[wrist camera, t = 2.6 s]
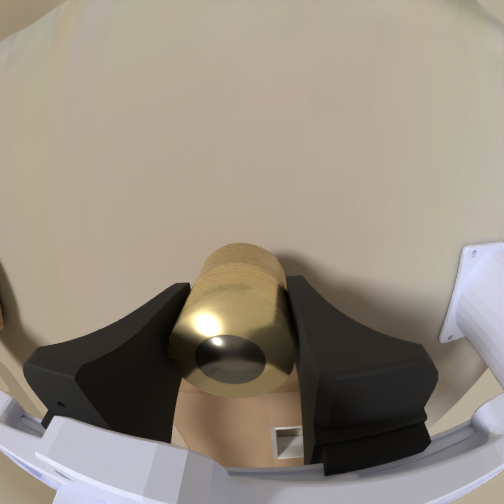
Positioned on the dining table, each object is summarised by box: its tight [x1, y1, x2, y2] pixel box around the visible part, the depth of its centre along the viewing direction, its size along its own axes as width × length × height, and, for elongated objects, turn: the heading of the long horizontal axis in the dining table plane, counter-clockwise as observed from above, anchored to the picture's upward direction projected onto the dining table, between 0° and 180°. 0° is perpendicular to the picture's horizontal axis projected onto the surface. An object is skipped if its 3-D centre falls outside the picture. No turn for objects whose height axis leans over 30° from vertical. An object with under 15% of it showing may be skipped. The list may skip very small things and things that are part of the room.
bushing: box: [168, 243, 295, 398], centre depth 10 cm, size 4×4×5 cm
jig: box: [173, 364, 304, 468], centre depth 19 cm, size 18×16×2 cm
